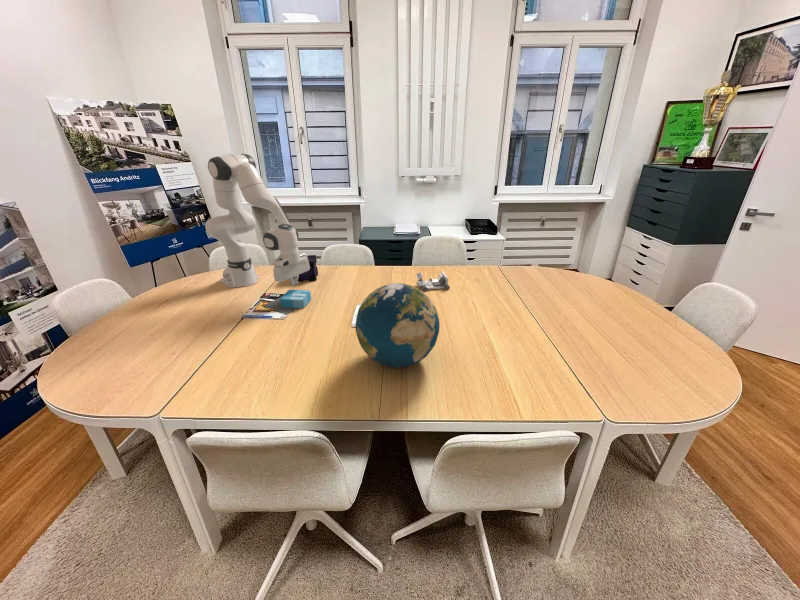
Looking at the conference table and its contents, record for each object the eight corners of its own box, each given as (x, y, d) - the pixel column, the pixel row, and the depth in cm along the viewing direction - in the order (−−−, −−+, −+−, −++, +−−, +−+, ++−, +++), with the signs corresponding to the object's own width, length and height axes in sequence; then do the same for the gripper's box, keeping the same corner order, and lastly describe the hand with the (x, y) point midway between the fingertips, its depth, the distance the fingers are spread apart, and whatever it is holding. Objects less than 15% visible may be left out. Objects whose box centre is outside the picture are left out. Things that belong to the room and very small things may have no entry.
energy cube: (298, 274, 212) (295, 255, 206) (318, 273, 213) (315, 254, 208) (295, 282, 201) (291, 262, 196) (316, 281, 202) (313, 261, 197)
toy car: (417, 275, 182) (413, 268, 192) (417, 292, 186) (413, 284, 197) (450, 273, 185) (444, 265, 195) (449, 290, 189) (443, 282, 199)
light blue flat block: (311, 290, 178) (302, 300, 167) (312, 298, 180) (303, 308, 169) (289, 289, 179) (278, 299, 169) (290, 297, 181) (280, 307, 171)
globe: (363, 338, 145) (359, 271, 132) (435, 338, 144) (438, 271, 131) (352, 385, 118) (345, 306, 105) (440, 386, 117) (444, 306, 104)
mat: (263, 306, 173) (262, 305, 173) (283, 296, 183) (283, 296, 183) (286, 314, 165) (286, 313, 165) (306, 304, 174) (306, 303, 174)
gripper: (302, 251, 179) (305, 276, 185) (269, 262, 164) (274, 289, 170) (310, 253, 176) (314, 278, 182) (278, 265, 161) (283, 292, 167)
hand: (294, 284), depth 176 cm, fingers closed
